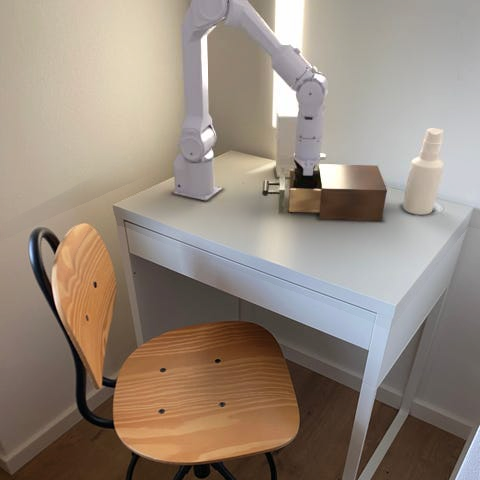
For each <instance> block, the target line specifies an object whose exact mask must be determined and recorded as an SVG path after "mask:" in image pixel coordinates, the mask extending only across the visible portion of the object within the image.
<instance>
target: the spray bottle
mask: <svg viewBox="0 0 480 480" xmlns="http://www.w3.org/2000/svg"><path fill="white" fill-rule="evenodd" d="M444 132H445V131H444V130H443V129H441V128H438V127H430V128H427V129H426V131H425V137H424V139H423V141H422V144H421V149H420V153H419V156H417V157H415V158H413V159H412V161H411V164H410V168H409V172H408V179H407V182H406V186H405V187H406V188H405V192H404V197H403V201H402V209H403V210H404V211H406V212H407V213H408V214H409V213H410V214H414V215H418V216H419V215H423V216H424V215H428V214H430V213H432V212H433V210H434V207H435V203H436V198H437V195H438V190H439V186H440V182H441V178H442V175H443V171H444V166H445V164H444V162H443V160H441V159H440V155H441V150H442V145H443V136H444Z"/></svg>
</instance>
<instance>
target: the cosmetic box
mask: <svg viewBox="0 0 480 480" xmlns="http://www.w3.org/2000/svg"><path fill="white" fill-rule="evenodd" d="M298 108H299V107H295V108H294V107H293V108H277V109H276V121H275V122H276V129H275V172H276V177H277V178H280V168H285V178H290V169H294V168H297V167H296V164H295V162H294V153H295V142H296V127H297V113H298Z"/></svg>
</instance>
